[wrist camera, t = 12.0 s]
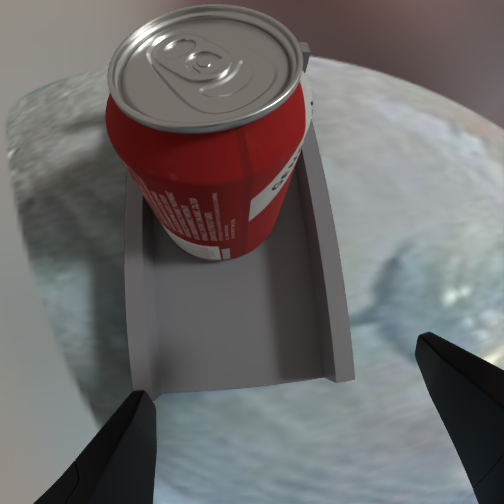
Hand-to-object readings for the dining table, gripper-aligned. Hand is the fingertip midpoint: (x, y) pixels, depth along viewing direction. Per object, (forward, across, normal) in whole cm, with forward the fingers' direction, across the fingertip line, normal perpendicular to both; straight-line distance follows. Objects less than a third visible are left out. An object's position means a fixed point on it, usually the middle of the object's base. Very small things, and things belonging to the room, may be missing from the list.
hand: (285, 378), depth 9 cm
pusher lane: (+12, +2, -1) cm, 12 cm away
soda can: (+12, +2, -2) cm, 12 cm away
